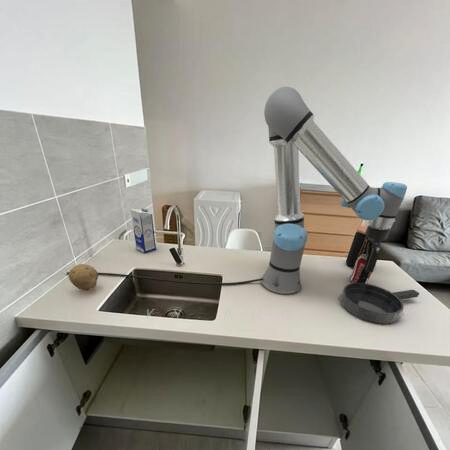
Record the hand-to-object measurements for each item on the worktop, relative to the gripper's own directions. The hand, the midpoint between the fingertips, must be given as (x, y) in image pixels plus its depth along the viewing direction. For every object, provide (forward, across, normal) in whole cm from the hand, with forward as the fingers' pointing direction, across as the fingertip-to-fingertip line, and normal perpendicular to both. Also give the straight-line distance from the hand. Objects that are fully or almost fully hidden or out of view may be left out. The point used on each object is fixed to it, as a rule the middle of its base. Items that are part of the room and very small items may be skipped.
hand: (358, 279), depth 103 cm
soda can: (+1, 0, 0) cm, 1 cm away
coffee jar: (+1, +17, -3) cm, 17 cm away
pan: (+1, -19, 0) cm, 19 cm away
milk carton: (+1, 0, +99) cm, 99 cm away
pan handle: (-1, -11, -13) cm, 17 cm away
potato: (+1, -39, +101) cm, 108 cm away
